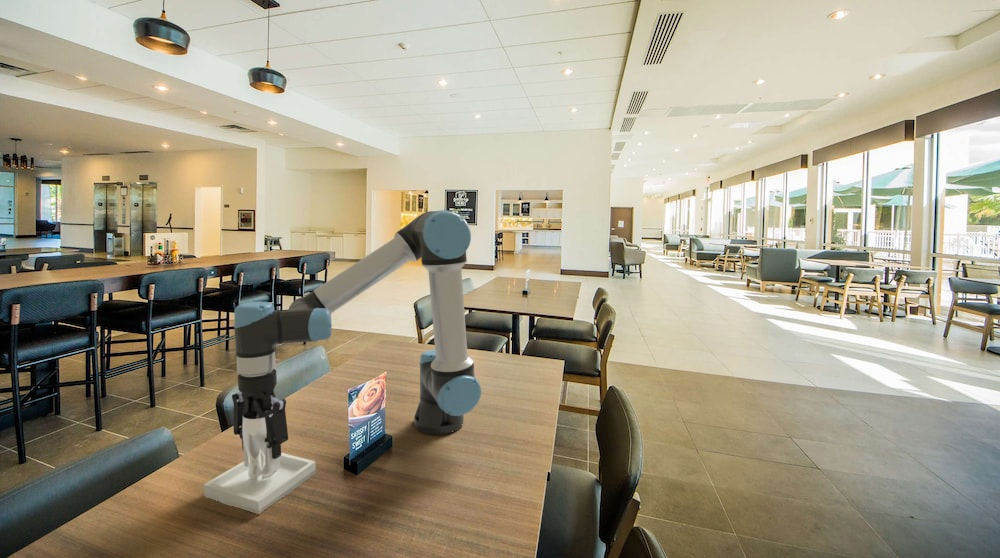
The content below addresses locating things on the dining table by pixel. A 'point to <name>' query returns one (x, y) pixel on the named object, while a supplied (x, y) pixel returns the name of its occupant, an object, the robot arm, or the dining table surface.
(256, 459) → the beer glass
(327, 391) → the dining table surface
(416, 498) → the dining table surface
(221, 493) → the tray
